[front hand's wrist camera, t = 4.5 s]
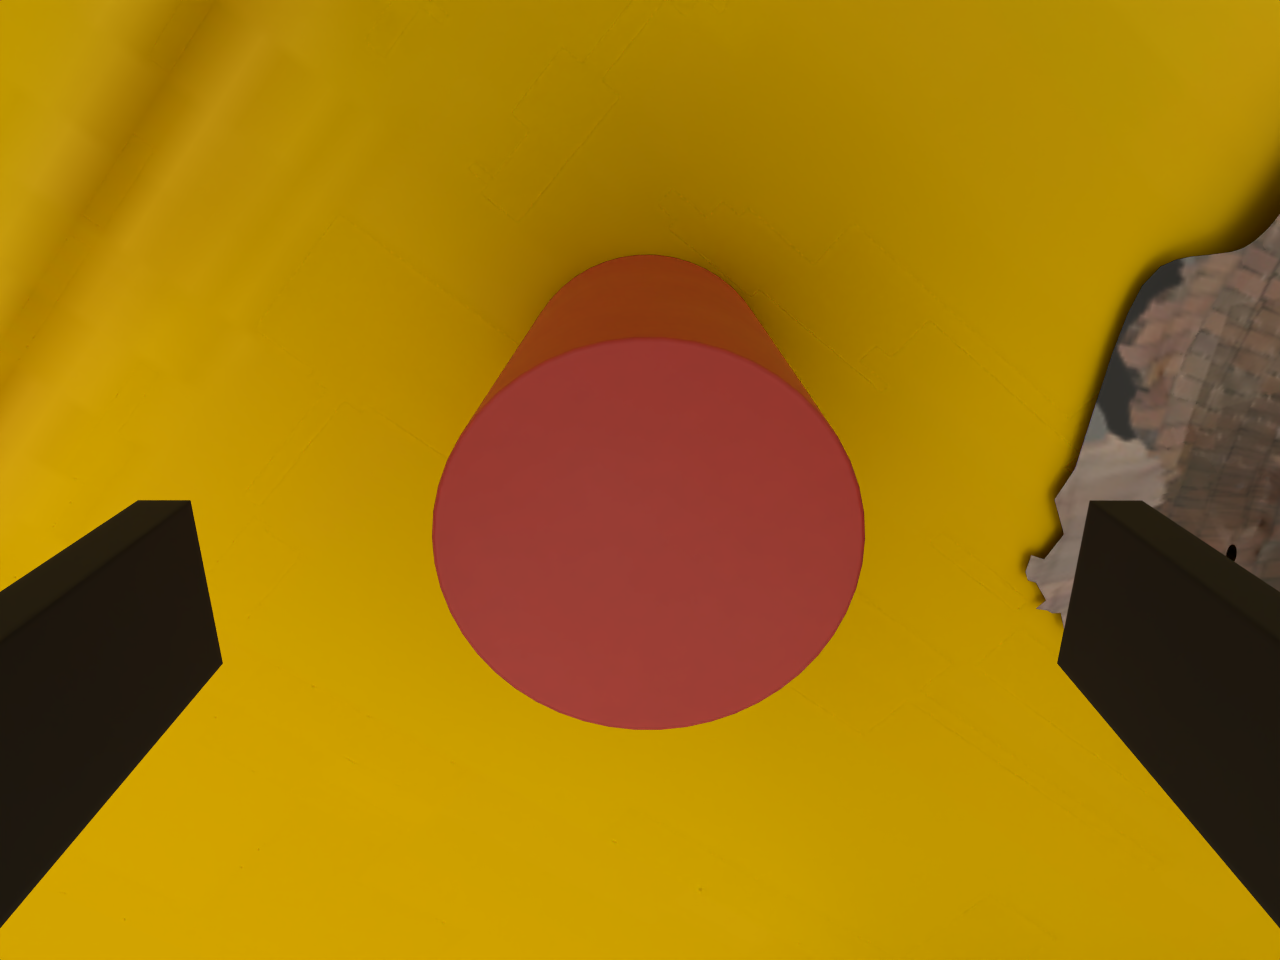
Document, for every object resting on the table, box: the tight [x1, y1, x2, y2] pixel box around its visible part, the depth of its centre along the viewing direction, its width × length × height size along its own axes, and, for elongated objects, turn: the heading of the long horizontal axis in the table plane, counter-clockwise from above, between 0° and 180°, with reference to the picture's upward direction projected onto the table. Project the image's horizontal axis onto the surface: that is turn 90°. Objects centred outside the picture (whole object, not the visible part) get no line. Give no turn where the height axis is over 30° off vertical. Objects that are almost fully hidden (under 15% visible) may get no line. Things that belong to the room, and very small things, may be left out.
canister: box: [432, 255, 865, 730], centre depth 18 cm, size 7×7×10 cm
